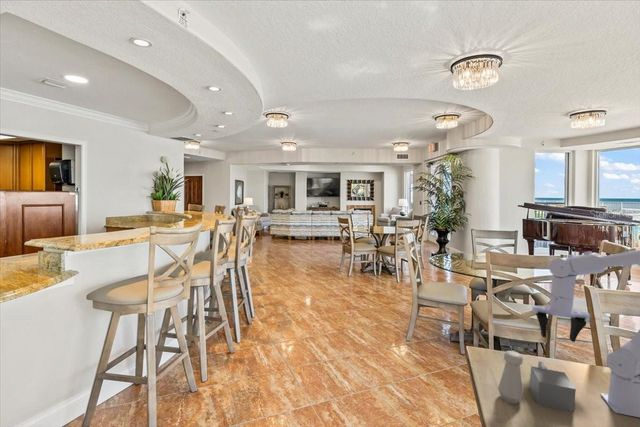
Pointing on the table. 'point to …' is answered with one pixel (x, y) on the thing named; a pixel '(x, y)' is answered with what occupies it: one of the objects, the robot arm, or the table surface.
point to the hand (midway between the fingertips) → (557, 338)
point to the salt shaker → (511, 378)
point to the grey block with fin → (552, 388)
